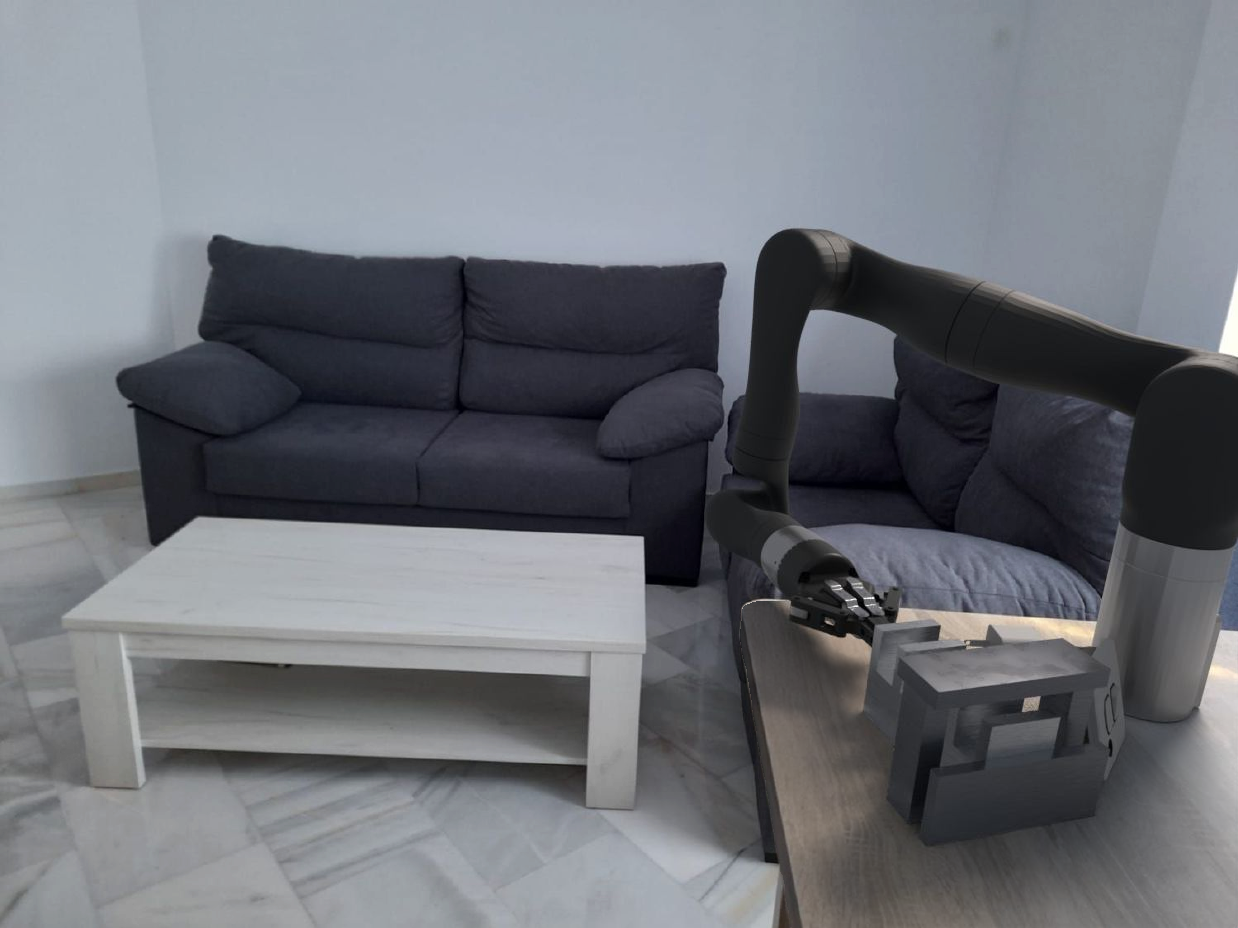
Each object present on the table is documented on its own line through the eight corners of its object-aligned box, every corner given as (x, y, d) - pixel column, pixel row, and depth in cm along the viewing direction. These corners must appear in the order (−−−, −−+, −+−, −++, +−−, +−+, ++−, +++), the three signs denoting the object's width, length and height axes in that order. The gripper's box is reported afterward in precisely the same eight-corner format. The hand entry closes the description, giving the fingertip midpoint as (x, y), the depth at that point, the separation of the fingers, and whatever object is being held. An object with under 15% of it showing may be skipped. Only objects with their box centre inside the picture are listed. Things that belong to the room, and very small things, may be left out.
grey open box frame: (1036, 764, 74) (1062, 637, 71) (1094, 815, 68) (1126, 679, 65) (879, 789, 70) (899, 657, 67) (927, 846, 64) (951, 703, 61)
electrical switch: (1104, 788, 72) (1115, 684, 70) (1036, 767, 75) (1044, 667, 73) (1125, 737, 79) (1136, 642, 77) (1063, 720, 82) (1071, 628, 80)
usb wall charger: (1040, 678, 88) (1047, 642, 87) (971, 675, 88) (977, 639, 87) (1023, 658, 92) (1030, 623, 91) (957, 654, 92) (963, 620, 91)
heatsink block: (919, 704, 83) (933, 618, 80) (1038, 817, 68) (1060, 716, 66) (862, 712, 81) (875, 625, 79) (972, 829, 67) (992, 727, 64)
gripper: (754, 542, 94) (834, 616, 78) (864, 534, 97) (962, 603, 81) (748, 605, 96) (825, 690, 80) (856, 595, 100) (949, 674, 84)
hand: (894, 646), depth 81 cm, fingers closed
